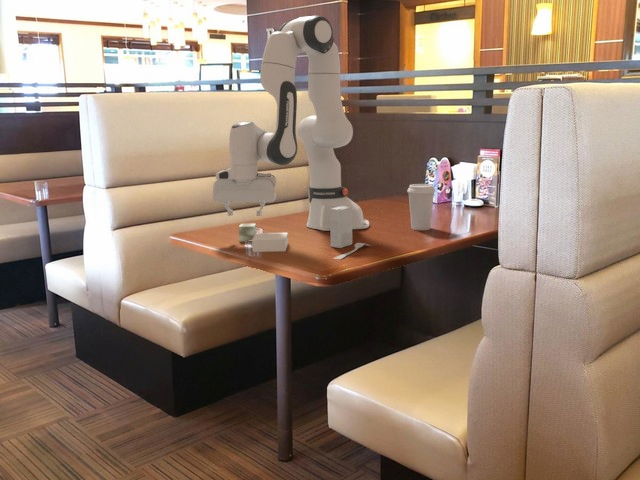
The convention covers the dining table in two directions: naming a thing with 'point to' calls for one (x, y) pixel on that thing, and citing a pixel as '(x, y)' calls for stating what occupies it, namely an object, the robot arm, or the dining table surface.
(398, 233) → the dining table surface
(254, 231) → the sage cube
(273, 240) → the painted block
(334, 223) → the skincare box
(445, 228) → the dining table surface
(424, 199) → the coffee cup
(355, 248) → the fork
